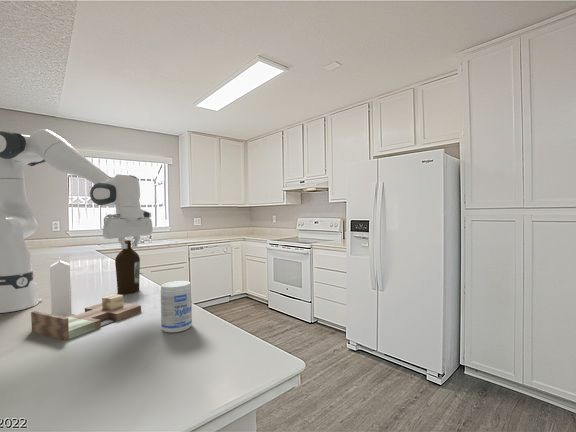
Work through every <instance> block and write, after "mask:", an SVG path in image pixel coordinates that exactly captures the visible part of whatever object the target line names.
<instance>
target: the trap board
mask: <svg viewBox="0 0 576 432" xmlns="http://www.w3.org/2000/svg"><path fill="white" fill-rule="evenodd" d="M141 312H142V305H141V304H133V303H128V302H123V306H121V307H118V308H115V309H112V310H111V309H105V308H102V302H100V303H98V304H94V305H89V306H87V307H85V308H84V312H82V313H78V314H73V313H72V314H69V313H67V314H64V315H60V316H56V315H52V313H51V314H50V313H45V312H42V311H35V310H33V311H31V312H30V316H31V317H30V319H31V320H30V322H31V332H32V333H36V334H38V335H43V336H47V337H51V338H54V339H55V338H56V339H58V340H62V341H68V340H70V339H74V338H76V337H78V336H80V335H84V334H86V333H89V332H92V331H94V330H96V329H100V328H102V327H105V326H108V325H110V324H112V323H116V322H117V321H120V320H124V319H126V318H128V317H130V316H134V315H136V314H139V313H141Z"/></svg>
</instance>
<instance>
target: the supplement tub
mask: <svg viewBox="0 0 576 432" xmlns="http://www.w3.org/2000/svg"><path fill="white" fill-rule="evenodd" d="M192 311H193V310H192V283H191V281H188V280H174V281H168V282H165V283H162V284H161V285H160V314H161V315H160V318H161V319H160V321H161V330H162V331H163V332H165V333H169V334H170V333H173V334H174V333H180V332H183V331H186V330H188V329H190V328H191V326H192V324H193V312H192Z"/></svg>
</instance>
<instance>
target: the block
mask: <svg viewBox="0 0 576 432" xmlns="http://www.w3.org/2000/svg"><path fill="white" fill-rule="evenodd" d="M101 303H102V308H105V309H111V310H112V309H115V308H118V307H121V306H123V303H124V294H118V293H117V294H115V293H114V294H113V293H112V294H110V295H107V296H103V297H101Z"/></svg>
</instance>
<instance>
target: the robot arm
mask: <svg viewBox="0 0 576 432" xmlns="http://www.w3.org/2000/svg"><path fill="white" fill-rule="evenodd" d="M43 163H47V164H48V165H49V166H51V167H52V168H54V169H56V170H57V171H58V172H62V173H65V174H68V175H73V176H76V177H80V178H83V179H84V180H85V179H86V180H87V181H89V182H91V184H93V185H92V186H91V188H90V191H89V196H90V199H91V201H92V203H94V204H95V205H97V206H101V207H115V213H114V214H111V213H110V214H107V215H106V216H104V217H103V229H102V236H103V238H104V239H106V240H112V239H117V241H118V242H119V244H120V246H121V250H123V249H127V248H128V247H127V246H128V244H125V242H124V240H126V238H132V237H133V239H134V240H133V241H132V242H131V248H138V247H139V246H138V243H139V241H140V239H141V236H149V235H152V233H153V221H152V219H151V217H152V213H151V212H150V211H147V210H144V209H142V208H141V207H142V206H141V203H140V198H141V188H140V181H139V178H138V177H137V176H135V175H131V174H126V173H118V174H117V173H116V175H115V176H113V177H110V176H109V175H108V174H107V173H105V172H104V171H103V170H101V169H100V168H99V167H97V166H96V165H95V164H93V163H92V162H91V161H90V160H89V159H87V157H85V156H84V155H83V154H82V153H81V152H79V151H78V150H77V149H76V148H75V147H74V146H73V145H71V144H70V143H69V142H68V141H67V140H66V139H64V138H62V137H61V136H60V135H58V134H57V133H55V132H53V131H51V130H49V129H44V128H42V129H41V128H40V129H37V130H35V131H33V133H32V134H31V135H29V134H24V133H18V132H14V131H7V130H3V131H0V314H2V313H4V314H5V313H10V312H16V311H17V312H18V311H21V310H25V309H29V308H31V307H36V306H37V305H38V304H39V303H41V302H43V298H39V296H40V295H39V291H38V290H39V289H38V283H36V282H35V281H33V280H34V271H33V270H32V253H31V251H30V250H29V249H28V247H27V244H26V241H25V239H26V238H29V237H30V236H31V235H34V234H35V232H36V231H37V230H38V227H39V223H38V221H37V219H36V218H35V217H34V215H33V212H32V209H31V207H30V203H29V200H28V197H27V190H26V189H27V188H26V182H25V180H26V179H25V173H24V170H25V167H26V166H27V165H28V166H30V167H33V166H37V165H39V164H43Z"/></svg>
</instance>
